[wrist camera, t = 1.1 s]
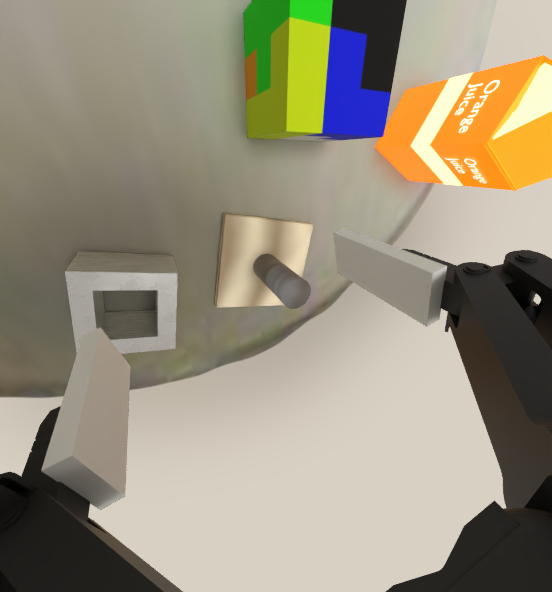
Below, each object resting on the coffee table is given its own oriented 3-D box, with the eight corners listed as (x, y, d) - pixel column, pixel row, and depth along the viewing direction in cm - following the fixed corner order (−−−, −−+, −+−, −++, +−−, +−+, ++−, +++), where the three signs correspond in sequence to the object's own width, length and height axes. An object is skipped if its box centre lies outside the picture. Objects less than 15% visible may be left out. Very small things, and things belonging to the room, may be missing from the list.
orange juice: (408, 181, 41) (582, 198, 25) (373, 147, 36) (561, 141, 20) (438, 130, 39) (648, 112, 23) (407, 87, 34) (643, 26, 18)
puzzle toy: (324, 141, 33) (383, 136, 25) (247, 137, 29) (286, 131, 21) (333, 32, 28) (409, -16, 20) (243, 13, 25) (291, -56, 17)
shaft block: (214, 303, 36) (235, 347, 28) (223, 212, 32) (250, 232, 23) (291, 301, 42) (328, 337, 33) (308, 223, 37) (356, 242, 29)
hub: (87, 326, 31) (77, 358, 26) (78, 250, 28) (65, 271, 23) (170, 321, 35) (175, 348, 30) (172, 255, 31) (177, 273, 27)
